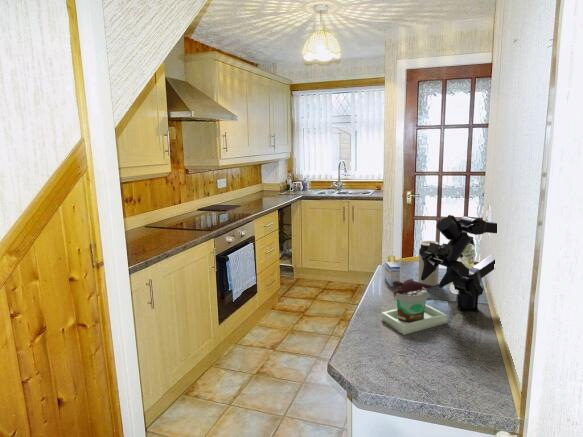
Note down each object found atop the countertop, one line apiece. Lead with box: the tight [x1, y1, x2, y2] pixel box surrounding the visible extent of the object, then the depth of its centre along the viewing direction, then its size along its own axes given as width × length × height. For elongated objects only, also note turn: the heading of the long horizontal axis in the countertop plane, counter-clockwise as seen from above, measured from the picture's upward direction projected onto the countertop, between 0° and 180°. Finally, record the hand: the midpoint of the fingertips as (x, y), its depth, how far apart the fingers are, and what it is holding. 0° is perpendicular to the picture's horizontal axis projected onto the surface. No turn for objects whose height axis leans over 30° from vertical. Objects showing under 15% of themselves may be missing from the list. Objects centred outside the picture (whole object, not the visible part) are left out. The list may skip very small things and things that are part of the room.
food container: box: [394, 287, 429, 323], centre depth 143 cm, size 12×6×10 cm, turn 114°
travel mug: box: [417, 240, 440, 287], centre depth 179 cm, size 8×8×18 cm
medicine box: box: [384, 261, 401, 287], centre depth 182 cm, size 8×4×9 cm, turn 5°
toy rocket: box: [392, 278, 433, 296], centre depth 168 cm, size 7×7×15 cm
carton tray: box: [381, 303, 448, 335], centre depth 144 cm, size 18×12×3 cm, turn 114°
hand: (430, 283), depth 145 cm, fingers open, 9 cm apart
